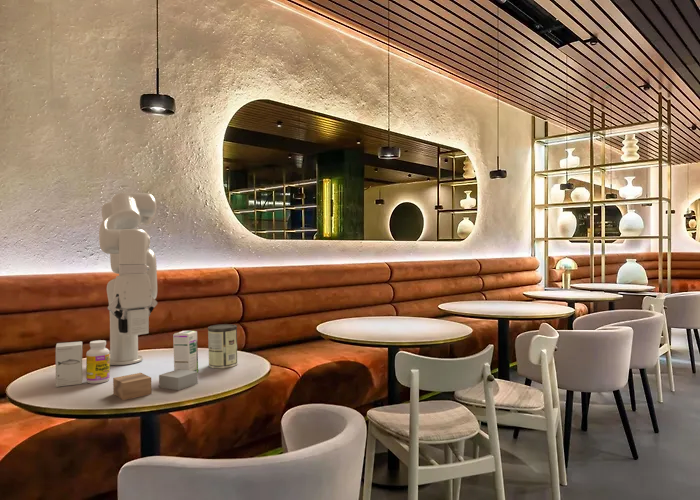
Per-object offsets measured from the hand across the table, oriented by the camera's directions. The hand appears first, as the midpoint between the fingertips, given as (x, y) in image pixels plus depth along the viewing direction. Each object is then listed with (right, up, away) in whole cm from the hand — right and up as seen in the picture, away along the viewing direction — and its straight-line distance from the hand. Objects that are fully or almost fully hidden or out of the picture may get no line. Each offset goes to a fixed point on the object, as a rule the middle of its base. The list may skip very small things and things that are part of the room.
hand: (133, 330), depth 145 cm
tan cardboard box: (+1, -19, -2) cm, 19 cm away
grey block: (+11, -18, +6) cm, 22 cm away
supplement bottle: (-17, -19, +12) cm, 28 cm away
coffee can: (+18, -18, +32) cm, 41 cm away
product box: (0, -1, 0) cm, 1 cm away
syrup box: (+9, -18, +18) cm, 28 cm away
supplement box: (-25, -19, +10) cm, 33 cm away
